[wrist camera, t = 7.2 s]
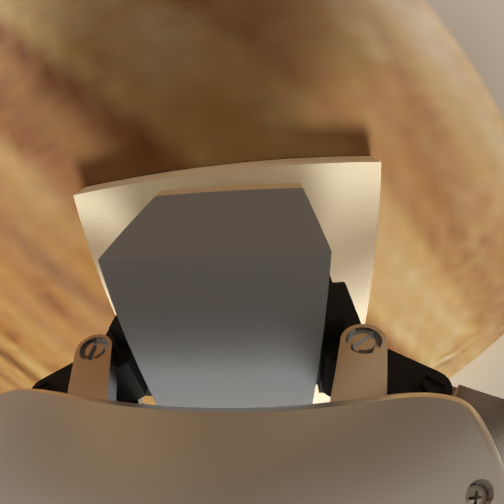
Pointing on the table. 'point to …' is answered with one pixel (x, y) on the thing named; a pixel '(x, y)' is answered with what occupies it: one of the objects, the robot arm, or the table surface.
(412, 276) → the table surface
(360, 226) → the board
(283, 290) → the block
